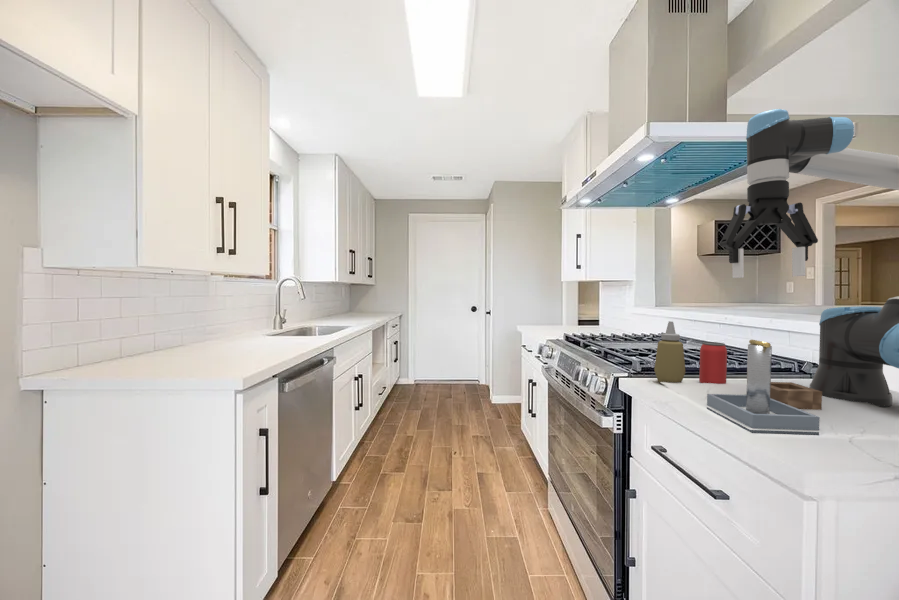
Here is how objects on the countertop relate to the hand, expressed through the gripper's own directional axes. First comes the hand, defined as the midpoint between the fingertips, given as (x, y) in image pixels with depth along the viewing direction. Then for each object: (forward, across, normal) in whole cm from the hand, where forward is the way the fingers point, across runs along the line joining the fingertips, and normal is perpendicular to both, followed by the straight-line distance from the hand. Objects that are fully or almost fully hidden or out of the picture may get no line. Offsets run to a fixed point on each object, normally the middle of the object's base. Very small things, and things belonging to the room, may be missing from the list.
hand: (768, 277), depth 95 cm
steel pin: (+29, +9, +9) cm, 32 cm away
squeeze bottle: (+30, +10, -25) cm, 41 cm away
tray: (+30, +9, +9) cm, 33 cm away
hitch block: (+30, -5, -2) cm, 31 cm away
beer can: (+30, -2, -25) cm, 39 cm away
